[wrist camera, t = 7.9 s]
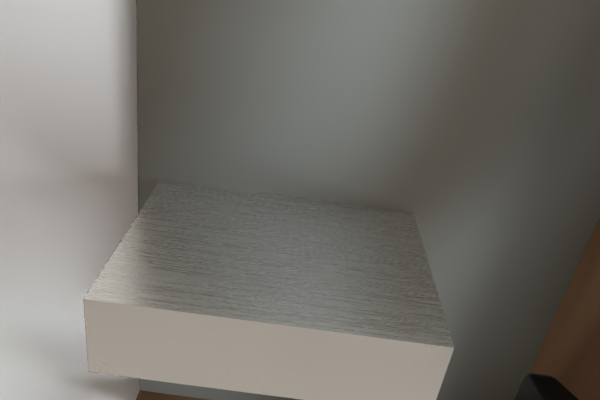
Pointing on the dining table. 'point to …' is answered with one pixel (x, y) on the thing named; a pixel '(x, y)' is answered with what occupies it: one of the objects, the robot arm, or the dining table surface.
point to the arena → (405, 152)
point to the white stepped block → (270, 298)
